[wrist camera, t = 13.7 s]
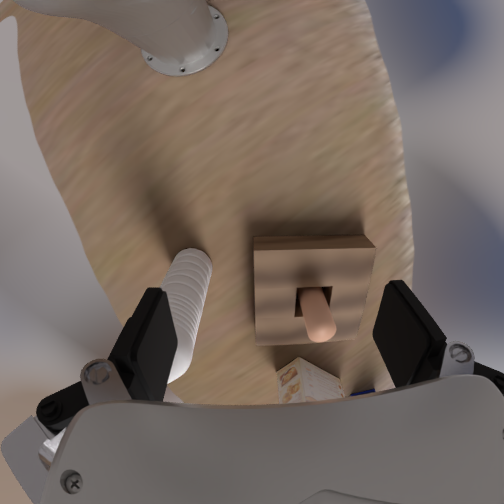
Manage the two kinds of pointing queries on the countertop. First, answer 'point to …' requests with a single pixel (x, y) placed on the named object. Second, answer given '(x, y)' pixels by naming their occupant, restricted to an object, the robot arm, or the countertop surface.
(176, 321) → the water bottle
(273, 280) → the socket block
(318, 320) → the peg
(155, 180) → the countertop surface
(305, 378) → the coffeecake box
